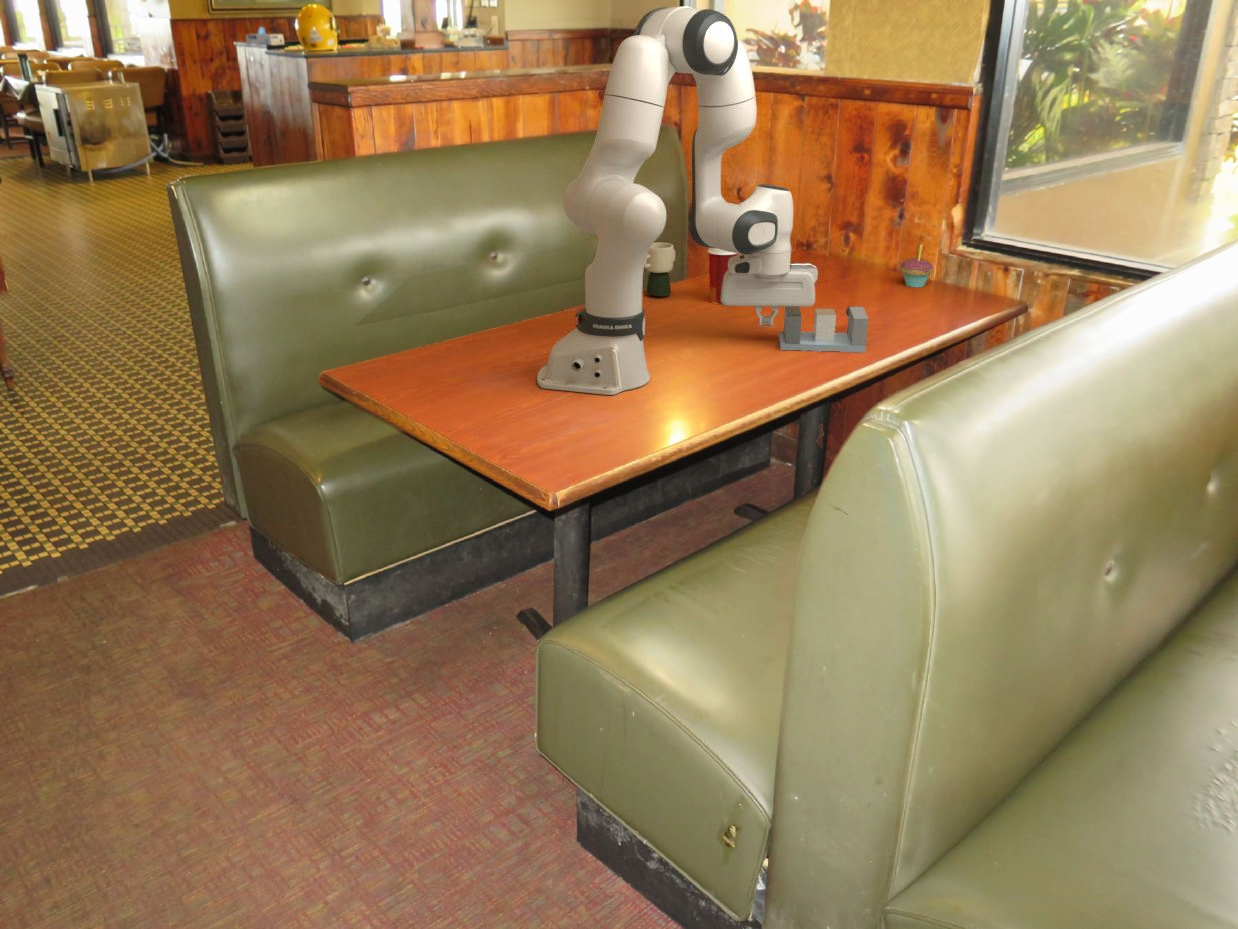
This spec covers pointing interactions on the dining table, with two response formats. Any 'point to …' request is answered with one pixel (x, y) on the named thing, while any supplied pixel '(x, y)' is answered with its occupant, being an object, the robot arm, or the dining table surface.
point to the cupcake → (916, 270)
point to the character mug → (659, 268)
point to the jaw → (792, 325)
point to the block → (824, 325)
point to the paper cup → (717, 271)
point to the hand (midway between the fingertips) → (765, 325)
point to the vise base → (836, 336)
